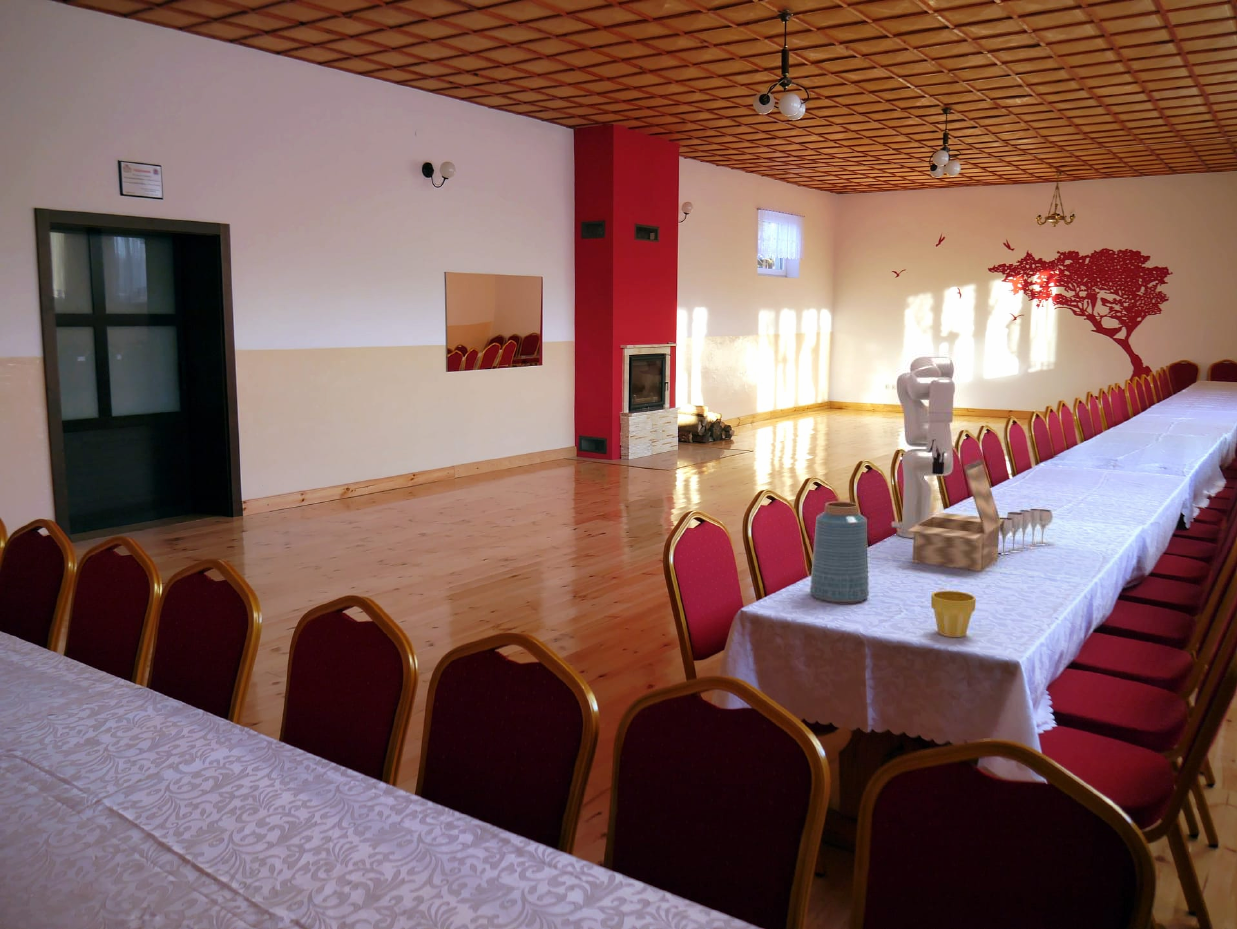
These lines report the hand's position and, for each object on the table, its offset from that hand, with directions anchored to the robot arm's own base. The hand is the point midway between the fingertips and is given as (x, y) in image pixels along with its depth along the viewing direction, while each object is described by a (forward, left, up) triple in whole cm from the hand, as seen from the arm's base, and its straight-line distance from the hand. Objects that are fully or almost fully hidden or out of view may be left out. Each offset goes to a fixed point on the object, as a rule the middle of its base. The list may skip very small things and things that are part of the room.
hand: (937, 473), depth 315 cm
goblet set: (+21, +30, -28) cm, 47 cm away
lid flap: (+14, 0, -6) cm, 15 cm away
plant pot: (+28, -75, -28) cm, 85 cm away
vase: (-8, -60, -28) cm, 67 cm away
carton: (+7, 0, -28) cm, 29 cm away
